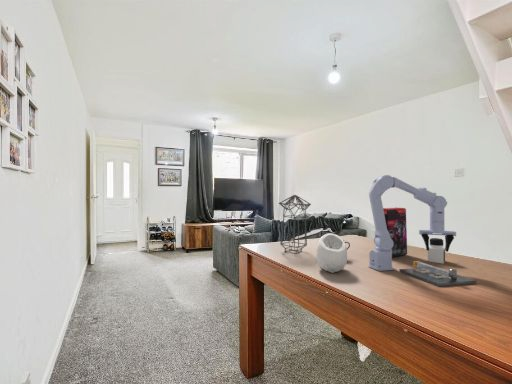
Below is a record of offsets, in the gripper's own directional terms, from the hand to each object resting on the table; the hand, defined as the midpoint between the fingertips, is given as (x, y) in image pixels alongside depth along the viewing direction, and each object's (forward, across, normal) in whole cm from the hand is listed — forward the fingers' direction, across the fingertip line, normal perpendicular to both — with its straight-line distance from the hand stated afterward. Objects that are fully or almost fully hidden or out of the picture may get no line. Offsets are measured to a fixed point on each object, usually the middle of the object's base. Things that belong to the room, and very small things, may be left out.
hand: (437, 250), depth 132 cm
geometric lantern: (+9, +71, -17) cm, 74 cm away
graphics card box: (+9, +17, -26) cm, 33 cm away
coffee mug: (+9, +45, -9) cm, 47 cm away
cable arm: (+8, +4, +13) cm, 15 cm away
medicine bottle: (+9, -4, -19) cm, 22 cm away
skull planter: (+9, +46, +16) cm, 50 cm away
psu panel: (+9, +3, +13) cm, 16 cm away
